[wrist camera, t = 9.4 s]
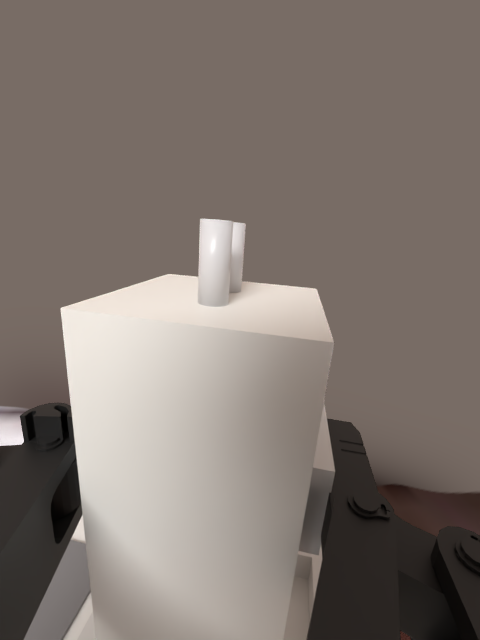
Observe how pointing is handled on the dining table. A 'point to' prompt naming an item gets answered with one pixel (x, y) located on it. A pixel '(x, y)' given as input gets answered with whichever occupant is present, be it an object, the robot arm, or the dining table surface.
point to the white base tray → (76, 602)
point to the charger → (196, 445)
